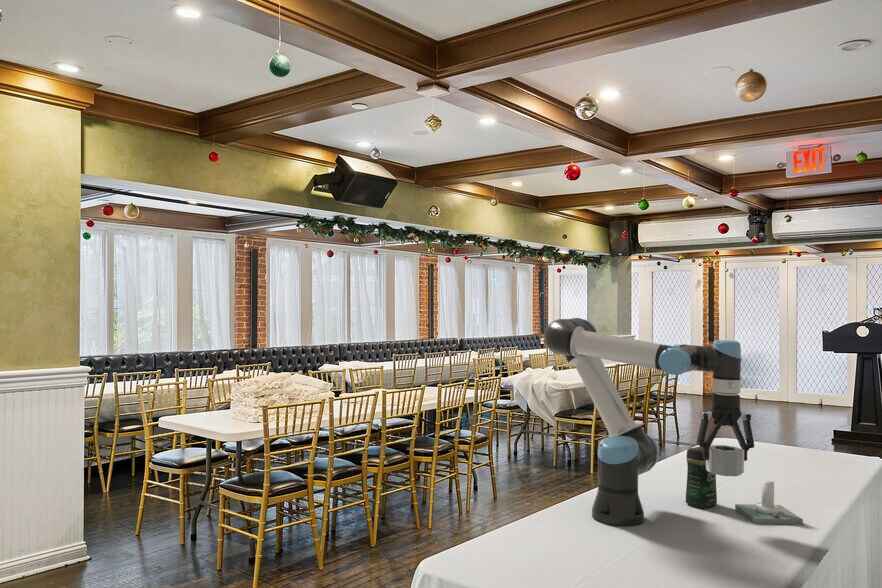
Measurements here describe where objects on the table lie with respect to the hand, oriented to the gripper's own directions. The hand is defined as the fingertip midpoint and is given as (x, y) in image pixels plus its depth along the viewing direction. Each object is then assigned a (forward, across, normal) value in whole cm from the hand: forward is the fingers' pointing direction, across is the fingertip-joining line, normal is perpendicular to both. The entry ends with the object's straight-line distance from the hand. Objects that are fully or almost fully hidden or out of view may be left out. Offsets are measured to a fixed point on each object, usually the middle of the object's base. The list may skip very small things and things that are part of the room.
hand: (724, 471), depth 198 cm
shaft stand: (+15, +16, +9) cm, 24 cm away
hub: (0, 0, 0) cm, 0 cm away
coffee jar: (+16, 0, +20) cm, 25 cm away
